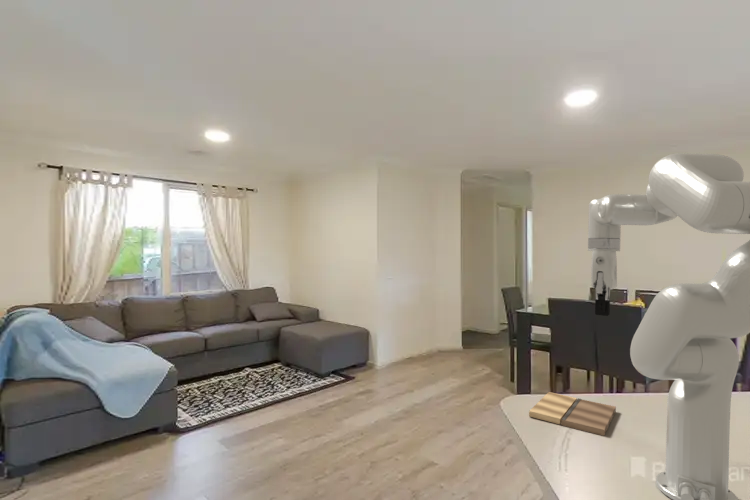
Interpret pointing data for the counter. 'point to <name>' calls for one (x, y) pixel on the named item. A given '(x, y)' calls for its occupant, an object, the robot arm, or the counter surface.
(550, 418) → the oak plank
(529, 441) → the counter surface
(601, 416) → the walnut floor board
